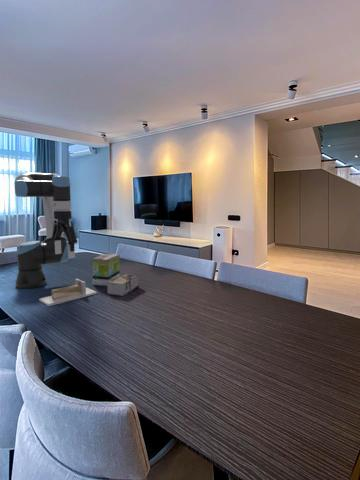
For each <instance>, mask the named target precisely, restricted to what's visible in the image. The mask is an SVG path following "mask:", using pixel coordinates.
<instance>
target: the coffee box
mask: <svg viewBox="0 0 360 480" xmlns="http://www.w3.org/2000/svg"><path fill="white" fill-rule="evenodd" d="M138 288H140V275H135V274H123V275H120V277H118V278H116V279H114V280H111V281H109V282H107V289H106V290H107V295H113V296H121V297H123V296H125V295H127V294H130V292H132V291H135V290H137V289H138Z"/></svg>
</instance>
